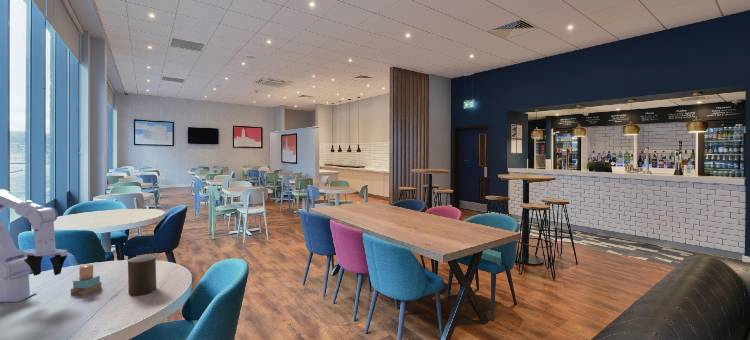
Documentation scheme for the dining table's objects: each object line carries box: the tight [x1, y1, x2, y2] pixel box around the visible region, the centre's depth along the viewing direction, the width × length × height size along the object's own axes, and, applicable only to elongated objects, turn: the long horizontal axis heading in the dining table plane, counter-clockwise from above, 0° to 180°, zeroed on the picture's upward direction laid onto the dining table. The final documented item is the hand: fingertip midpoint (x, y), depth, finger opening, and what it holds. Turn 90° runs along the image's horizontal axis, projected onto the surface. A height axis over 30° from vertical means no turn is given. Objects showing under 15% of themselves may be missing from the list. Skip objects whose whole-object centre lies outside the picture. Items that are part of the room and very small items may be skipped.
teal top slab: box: [72, 275, 101, 288], centre depth 147 cm, size 6×6×3 cm
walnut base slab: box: [70, 281, 102, 296], centre depth 147 cm, size 7×7×3 cm
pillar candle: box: [127, 255, 157, 296], centre depth 147 cm, size 10×10×15 cm
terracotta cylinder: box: [78, 263, 94, 280], centre depth 146 cm, size 4×4×5 cm
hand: (47, 274), depth 138 cm, fingers open, 7 cm apart
